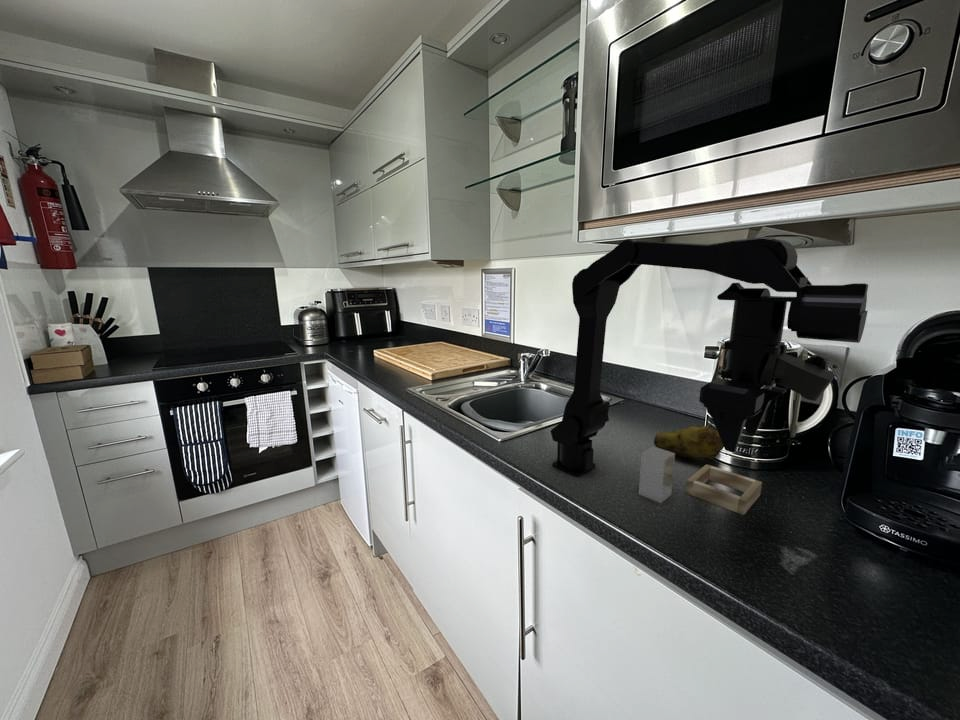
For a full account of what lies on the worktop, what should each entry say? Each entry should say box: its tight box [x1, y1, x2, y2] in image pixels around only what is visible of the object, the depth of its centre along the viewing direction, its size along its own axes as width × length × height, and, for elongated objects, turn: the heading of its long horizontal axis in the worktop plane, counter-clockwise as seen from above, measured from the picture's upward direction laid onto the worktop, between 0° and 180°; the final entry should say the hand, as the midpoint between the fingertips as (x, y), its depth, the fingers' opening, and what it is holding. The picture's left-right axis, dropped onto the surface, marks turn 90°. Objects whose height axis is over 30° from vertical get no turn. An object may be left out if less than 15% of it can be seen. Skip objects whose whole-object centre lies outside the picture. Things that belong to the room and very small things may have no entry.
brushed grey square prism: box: [638, 445, 676, 504], centre depth 68 cm, size 4×4×8 cm
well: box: [685, 464, 763, 516], centre depth 68 cm, size 9×9×2 cm
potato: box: [653, 425, 724, 459], centre depth 82 cm, size 8×13×8 cm, turn 26°
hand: (741, 441), depth 55 cm, fingers open, 9 cm apart
